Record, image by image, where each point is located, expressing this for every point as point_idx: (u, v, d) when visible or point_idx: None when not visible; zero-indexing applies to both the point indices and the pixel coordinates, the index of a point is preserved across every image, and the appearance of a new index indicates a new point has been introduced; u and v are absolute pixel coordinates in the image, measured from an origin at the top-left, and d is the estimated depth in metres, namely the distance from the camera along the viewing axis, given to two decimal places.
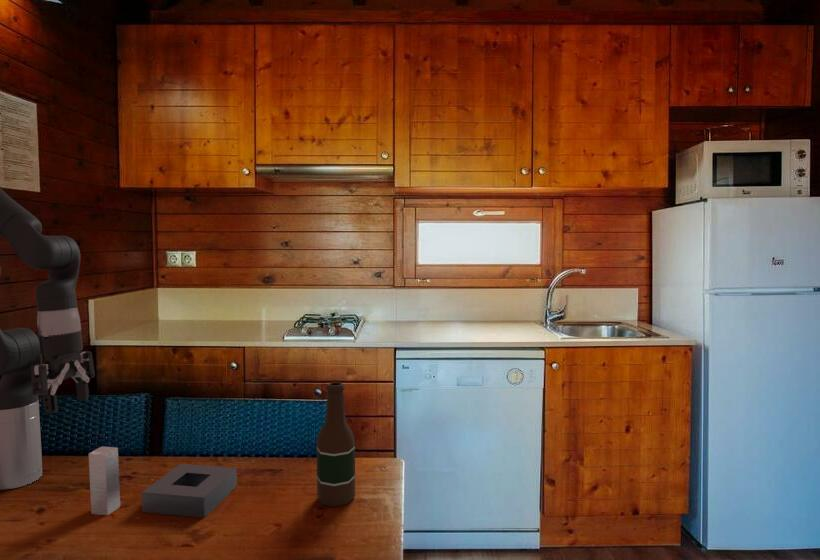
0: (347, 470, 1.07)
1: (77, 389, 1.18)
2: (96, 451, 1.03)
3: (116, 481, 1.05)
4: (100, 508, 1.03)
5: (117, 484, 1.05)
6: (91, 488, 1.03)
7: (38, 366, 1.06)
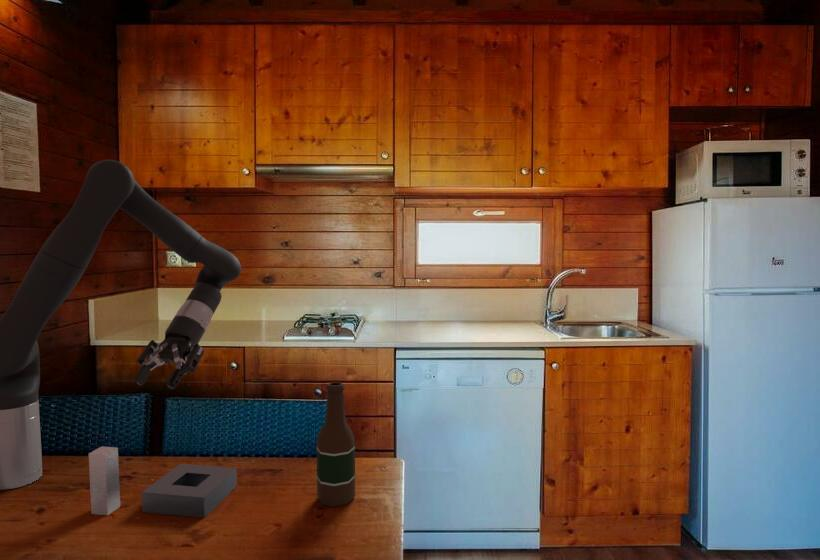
0: (347, 470, 1.07)
1: (143, 371, 1.17)
2: (96, 451, 1.03)
3: (116, 481, 1.05)
4: (100, 508, 1.03)
5: (117, 484, 1.05)
6: (91, 488, 1.03)
7: None
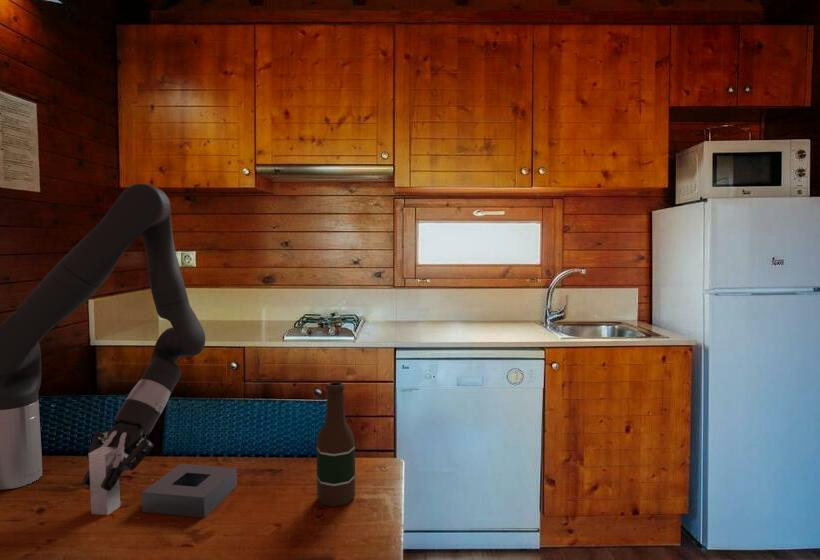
0: (347, 470, 1.07)
1: None
2: (96, 451, 1.03)
3: None
4: (100, 508, 1.03)
5: (117, 484, 1.05)
6: (91, 488, 1.03)
7: (151, 444, 1.07)
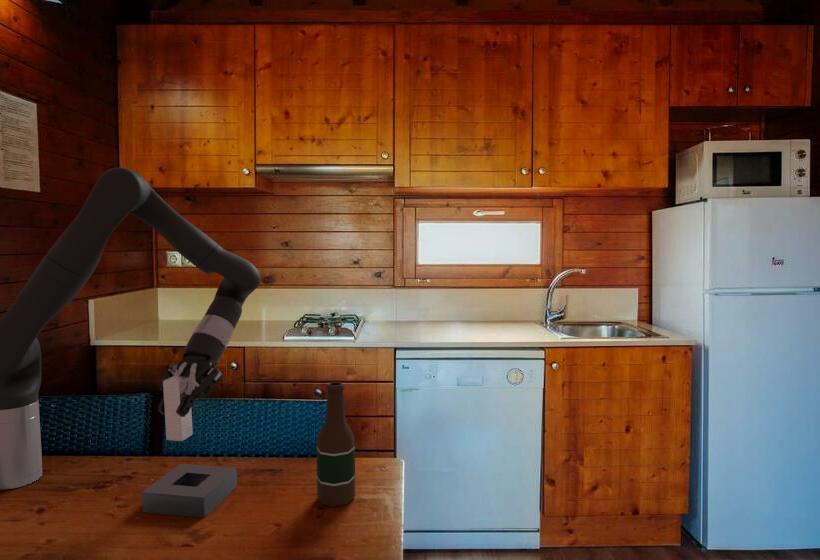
0: (347, 470, 1.07)
1: None
2: (170, 379, 1.06)
3: None
4: (175, 434, 1.06)
5: (189, 412, 1.08)
6: (166, 415, 1.06)
7: (220, 374, 1.09)
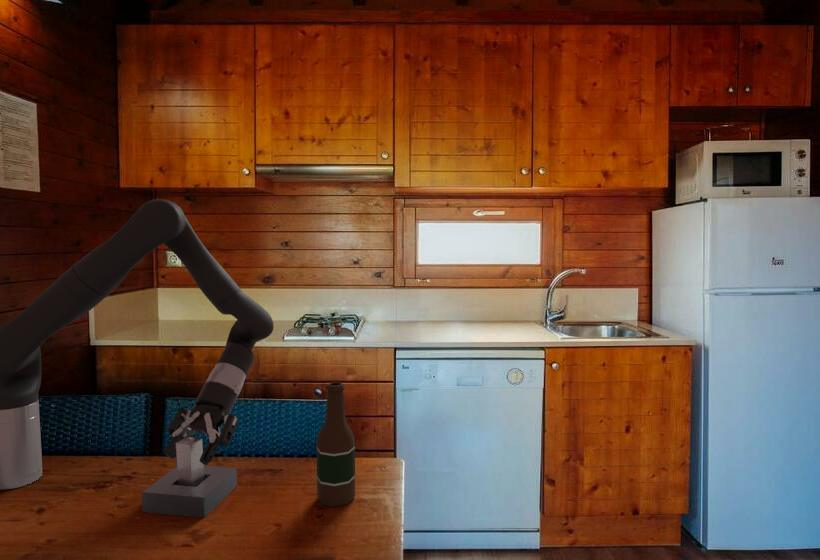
0: (347, 470, 1.07)
1: (174, 443, 1.10)
2: (182, 441, 1.09)
3: (201, 471, 1.10)
4: None
5: (202, 474, 1.10)
6: (178, 476, 1.08)
7: (236, 418, 1.12)
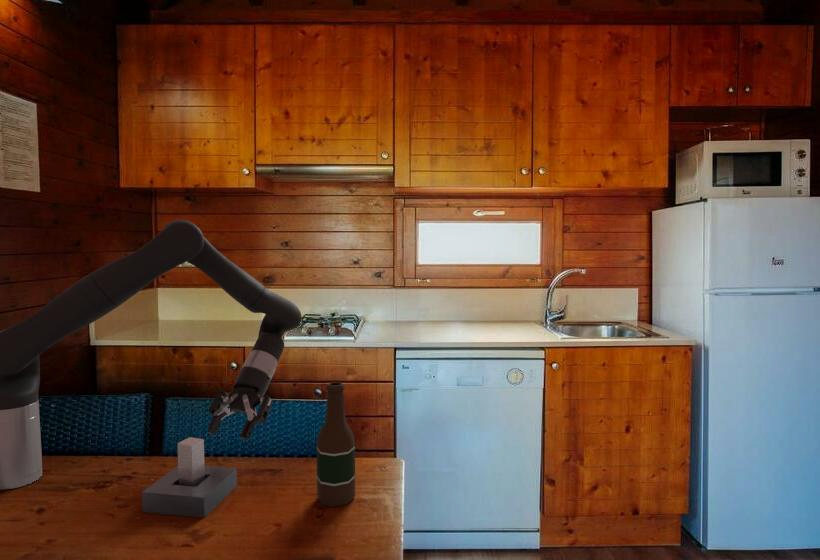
0: (347, 470, 1.07)
1: (215, 422, 1.22)
2: (184, 441, 1.08)
3: (202, 471, 1.10)
4: None
5: (202, 474, 1.10)
6: (179, 476, 1.08)
7: None
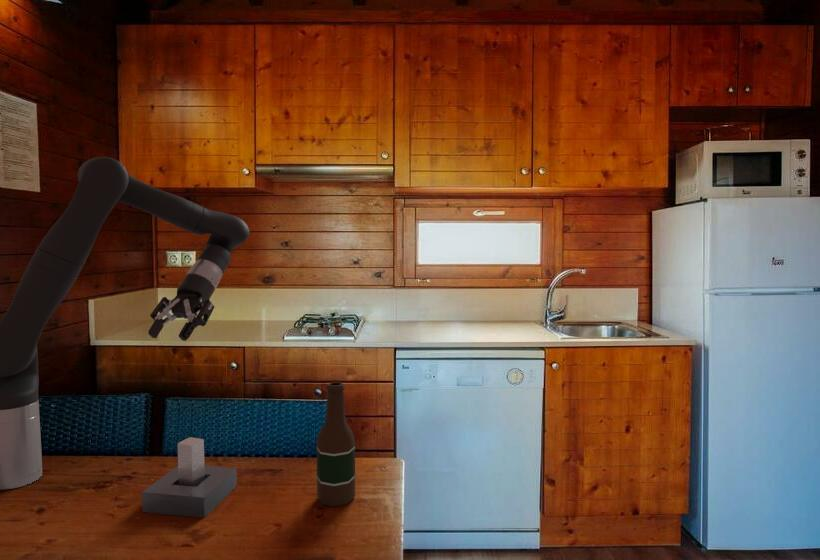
0: (347, 470, 1.07)
1: (156, 325, 1.23)
2: (184, 441, 1.09)
3: (202, 471, 1.10)
4: None
5: (202, 474, 1.10)
6: (179, 476, 1.08)
7: (212, 304, 1.25)
